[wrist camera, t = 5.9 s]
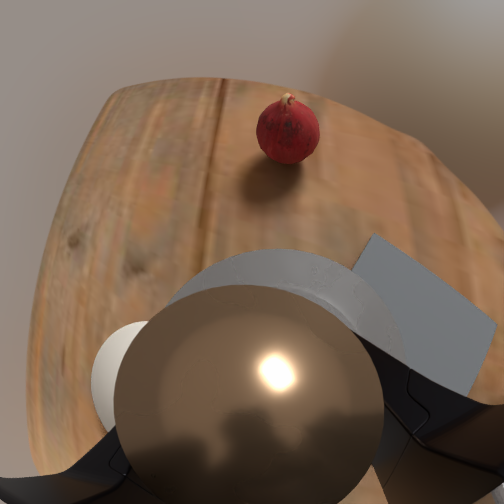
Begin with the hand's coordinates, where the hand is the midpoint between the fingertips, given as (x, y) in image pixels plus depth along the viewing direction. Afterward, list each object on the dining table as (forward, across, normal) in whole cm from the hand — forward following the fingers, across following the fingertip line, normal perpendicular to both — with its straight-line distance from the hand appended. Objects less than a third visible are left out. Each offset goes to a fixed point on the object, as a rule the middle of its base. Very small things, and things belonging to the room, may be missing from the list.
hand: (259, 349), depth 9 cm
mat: (+7, -10, +12) cm, 17 cm away
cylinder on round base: (+2, 0, +4) cm, 4 cm away
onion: (+22, -6, -3) cm, 23 cm away
